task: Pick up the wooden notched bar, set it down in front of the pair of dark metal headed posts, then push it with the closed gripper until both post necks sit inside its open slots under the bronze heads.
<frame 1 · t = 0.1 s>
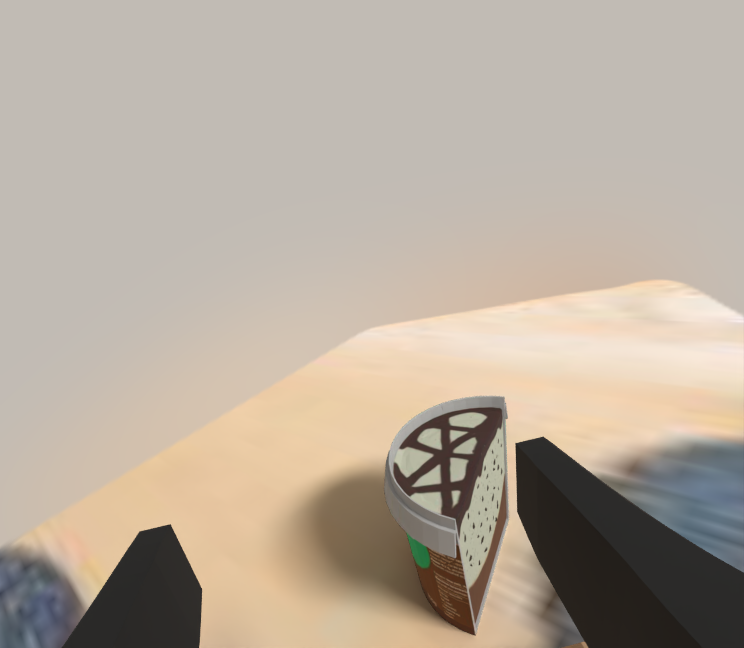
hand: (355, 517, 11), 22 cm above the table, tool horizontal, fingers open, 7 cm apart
food container: (449, 561, 35), on the table
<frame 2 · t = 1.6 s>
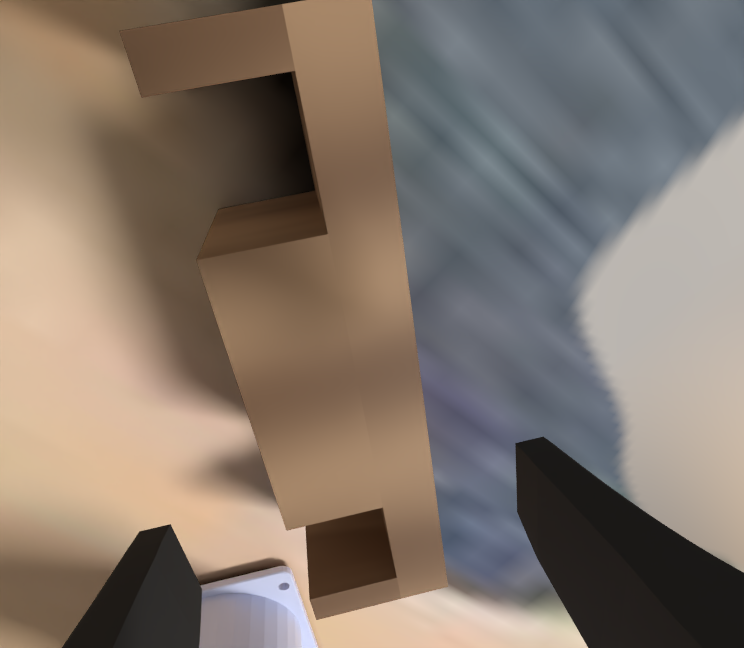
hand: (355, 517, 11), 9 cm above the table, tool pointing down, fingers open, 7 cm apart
wooden notched bar: (322, 320, 19), on the table
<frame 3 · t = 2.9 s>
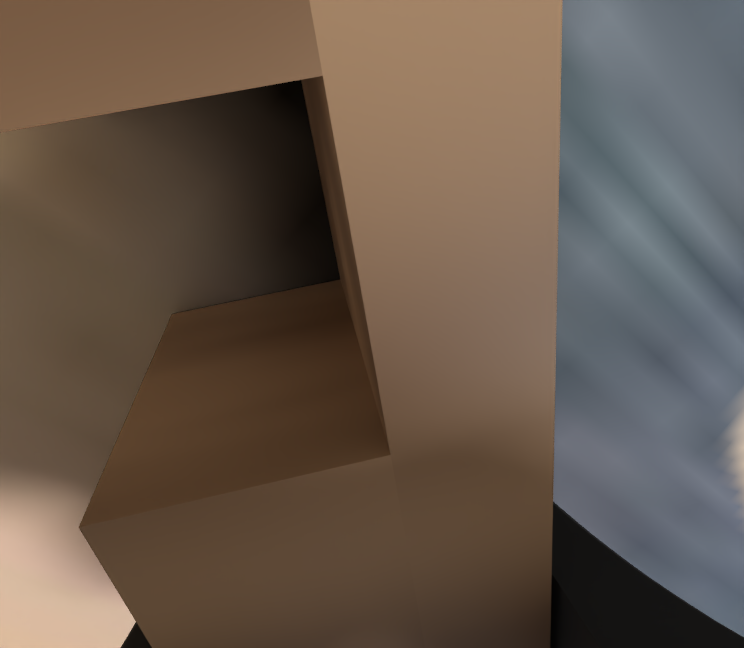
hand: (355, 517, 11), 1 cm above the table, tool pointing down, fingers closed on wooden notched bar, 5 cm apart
wooden notched bar: (347, 469, 12), on the table, touching gripper
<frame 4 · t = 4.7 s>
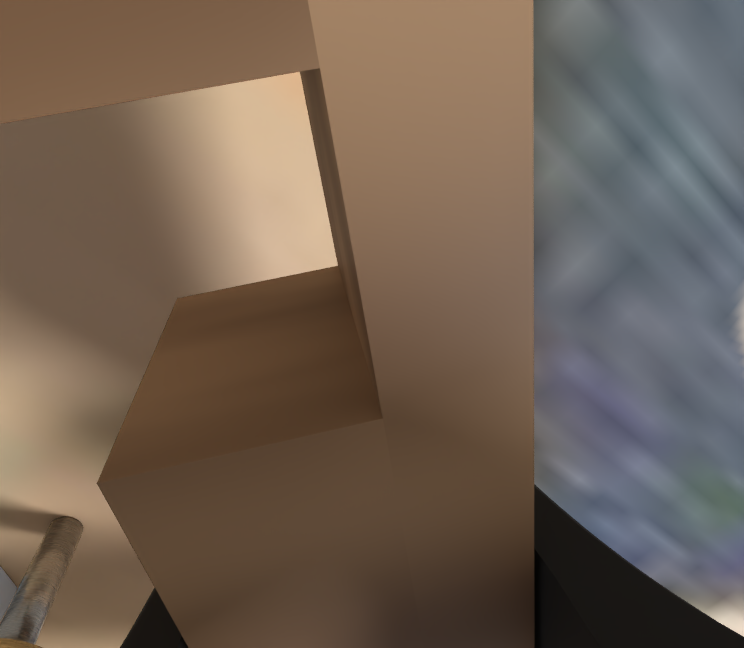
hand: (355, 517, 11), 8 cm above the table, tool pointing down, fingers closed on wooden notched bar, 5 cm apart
wooden notched bar: (345, 450, 12), point 6 cm above the table, touching gripper
when the fingers open (2 cm above the table, at t = 6.5 s): wooden notched bar stays where it is, on the table.
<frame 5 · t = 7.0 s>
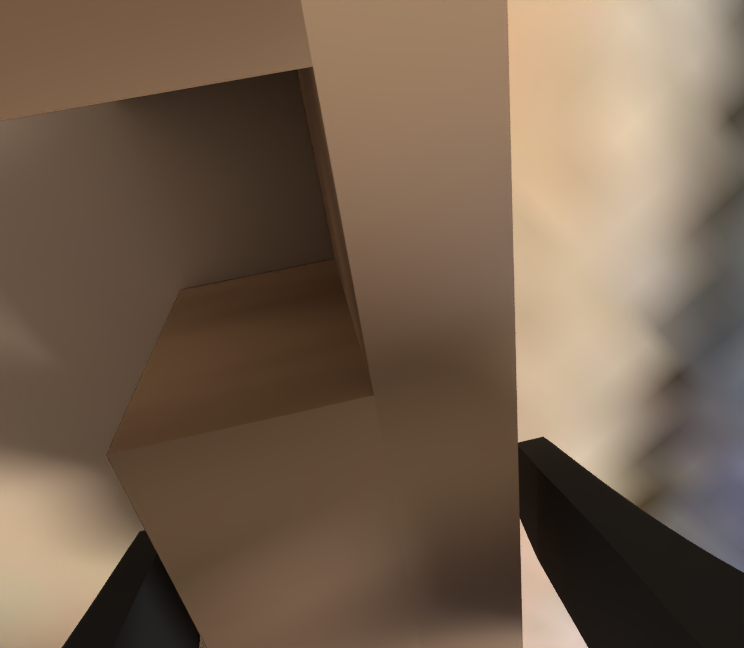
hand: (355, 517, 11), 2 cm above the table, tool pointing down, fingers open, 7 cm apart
wooden notched bar: (342, 440, 13), on the table
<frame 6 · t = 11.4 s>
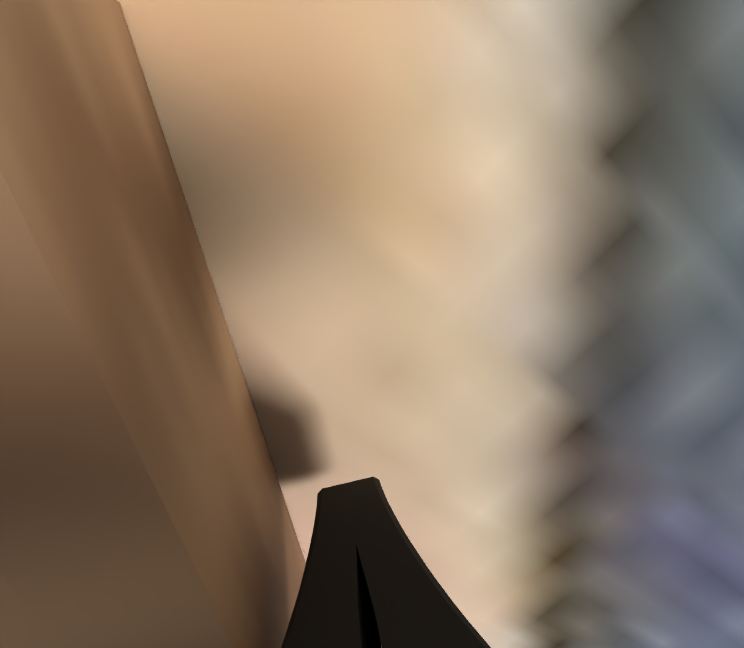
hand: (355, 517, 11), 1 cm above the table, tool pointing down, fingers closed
wooden notched bar: (170, 509, 12), on the table, touching gripper
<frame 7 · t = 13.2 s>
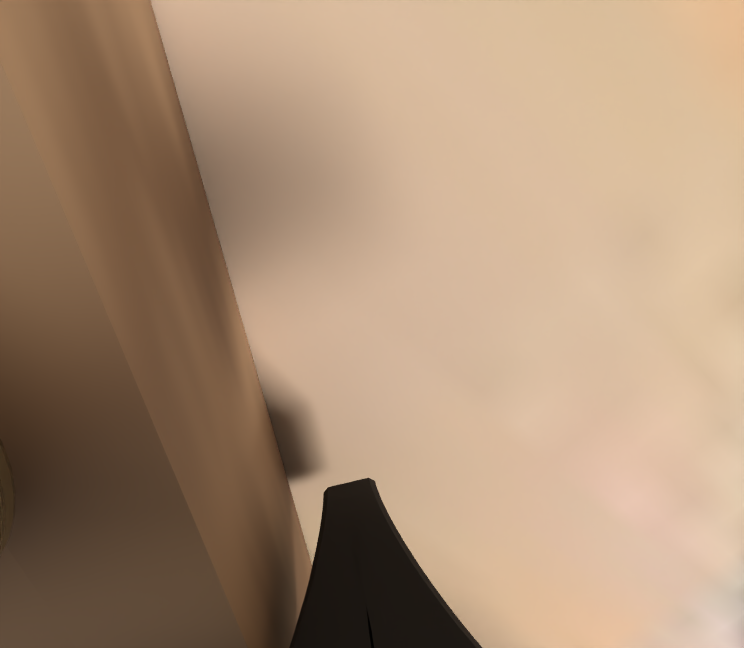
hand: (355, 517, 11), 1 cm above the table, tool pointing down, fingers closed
wooden notched bar: (177, 502, 11), on the table, touching gripper
keyhole posts: (170, 512, 12), on the table
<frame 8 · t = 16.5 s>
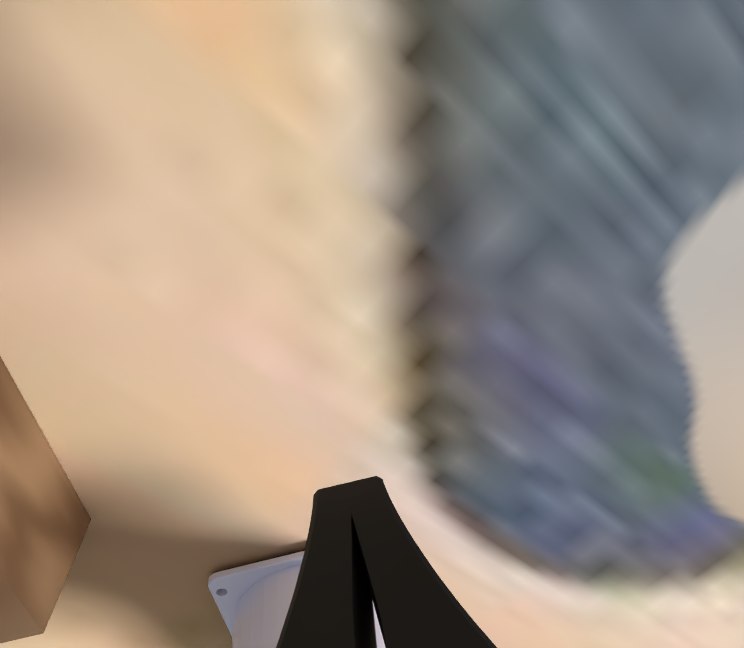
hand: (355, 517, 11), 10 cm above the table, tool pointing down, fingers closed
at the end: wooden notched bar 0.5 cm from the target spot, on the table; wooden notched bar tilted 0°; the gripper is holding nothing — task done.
